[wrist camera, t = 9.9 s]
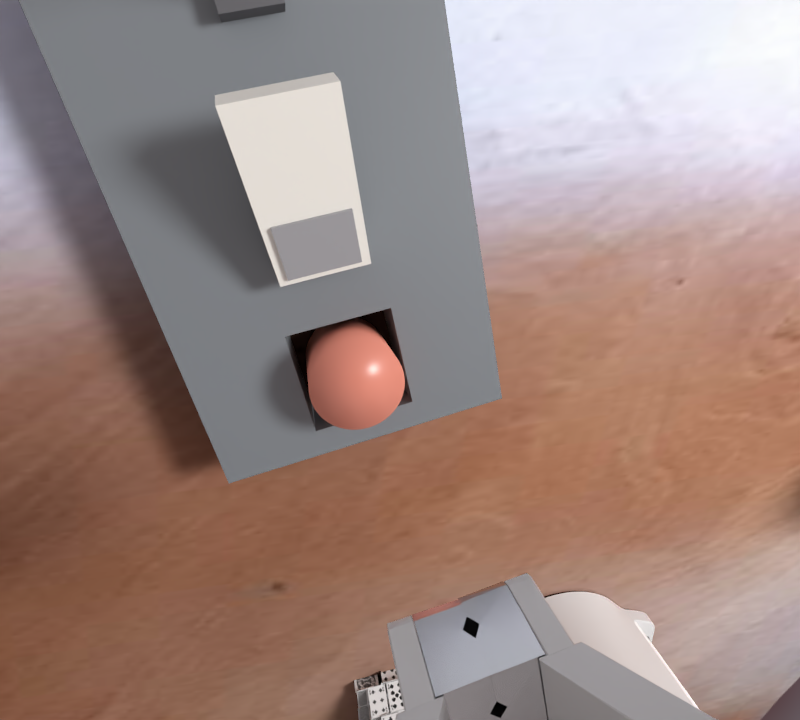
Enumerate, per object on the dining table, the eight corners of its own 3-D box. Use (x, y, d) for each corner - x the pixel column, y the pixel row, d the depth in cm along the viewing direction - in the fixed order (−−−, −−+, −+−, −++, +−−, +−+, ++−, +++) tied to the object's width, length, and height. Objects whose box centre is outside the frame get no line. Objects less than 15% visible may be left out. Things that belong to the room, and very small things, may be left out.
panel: (480, 378, 27) (511, 407, 24) (235, 452, 25) (225, 497, 22) (402, -105, 19) (431, -183, 15) (26, -51, 17) (-52, -125, 13)
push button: (393, 379, 26) (413, 413, 22) (318, 402, 25) (323, 441, 21) (375, 306, 24) (393, 328, 20) (295, 328, 23) (296, 355, 19)
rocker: (364, 249, 20) (372, 265, 19) (277, 271, 20) (280, 288, 19) (333, 72, 15) (341, 82, 14) (214, 95, 15) (215, 107, 14)
